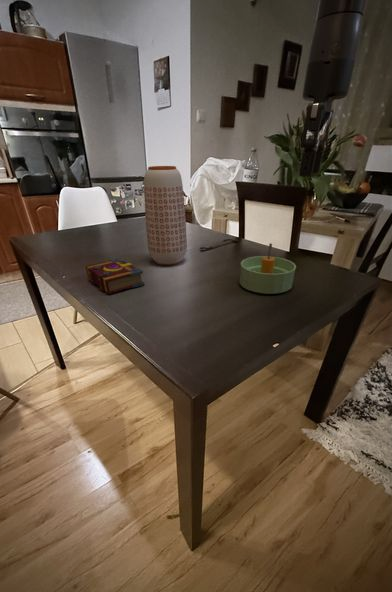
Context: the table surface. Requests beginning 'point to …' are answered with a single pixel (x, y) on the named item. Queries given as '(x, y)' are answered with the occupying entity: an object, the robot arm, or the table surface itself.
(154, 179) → the patterned ceramic vase
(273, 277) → the green round bowl
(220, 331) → the table surface
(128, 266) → the decorative book
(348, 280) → the table surface
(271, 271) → the screwdriver
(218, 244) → the tomahawk
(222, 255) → the table surface
